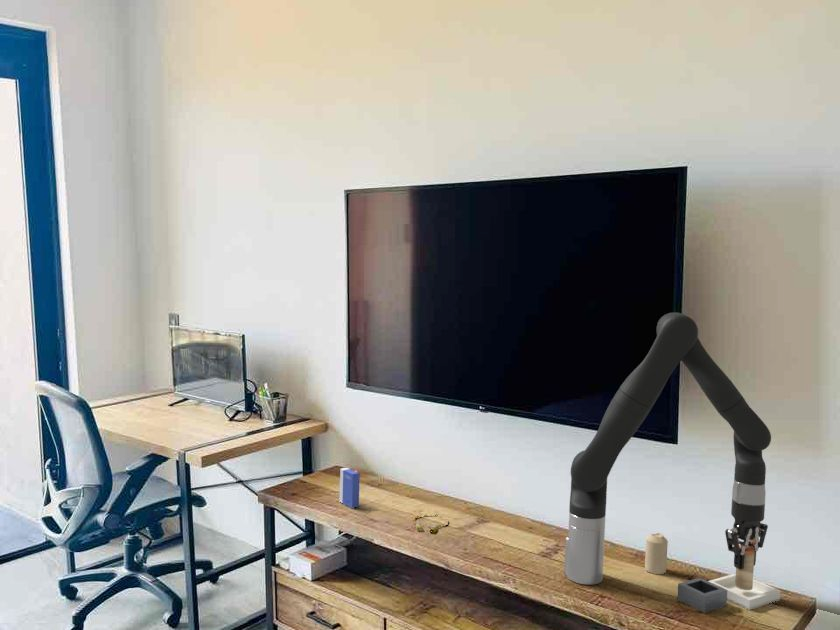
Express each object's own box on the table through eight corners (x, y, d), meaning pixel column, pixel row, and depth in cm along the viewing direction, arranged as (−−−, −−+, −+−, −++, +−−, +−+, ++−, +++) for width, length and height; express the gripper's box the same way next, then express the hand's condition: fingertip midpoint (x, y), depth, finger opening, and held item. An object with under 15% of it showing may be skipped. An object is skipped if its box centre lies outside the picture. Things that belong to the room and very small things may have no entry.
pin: (731, 585, 183) (733, 546, 183) (741, 582, 185) (743, 543, 185) (745, 591, 180) (747, 551, 179) (755, 588, 182) (758, 549, 181)
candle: (654, 565, 201) (655, 529, 200) (670, 572, 196) (672, 535, 196) (640, 568, 198) (642, 532, 197) (656, 576, 193) (658, 539, 193)
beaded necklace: (398, 527, 225) (398, 521, 225) (426, 514, 238) (427, 508, 238) (431, 537, 218) (431, 530, 218) (458, 523, 231) (458, 516, 231)
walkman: (358, 507, 242) (359, 471, 241) (352, 508, 240) (352, 473, 240) (345, 501, 248) (346, 466, 247) (339, 502, 246) (339, 467, 246)
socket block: (677, 599, 179) (678, 583, 179) (699, 593, 184) (699, 577, 183) (704, 612, 173) (705, 596, 172) (726, 606, 177) (727, 590, 176)
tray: (707, 590, 185) (707, 581, 185) (737, 581, 191) (737, 572, 191) (749, 610, 175) (749, 600, 175) (779, 600, 181) (780, 590, 181)
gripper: (753, 491, 188) (749, 556, 189) (716, 498, 181) (713, 566, 182) (780, 499, 182) (775, 567, 183) (743, 507, 175) (739, 577, 176)
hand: (744, 566), depth 182 cm, fingers closed on pin, 4 cm apart
